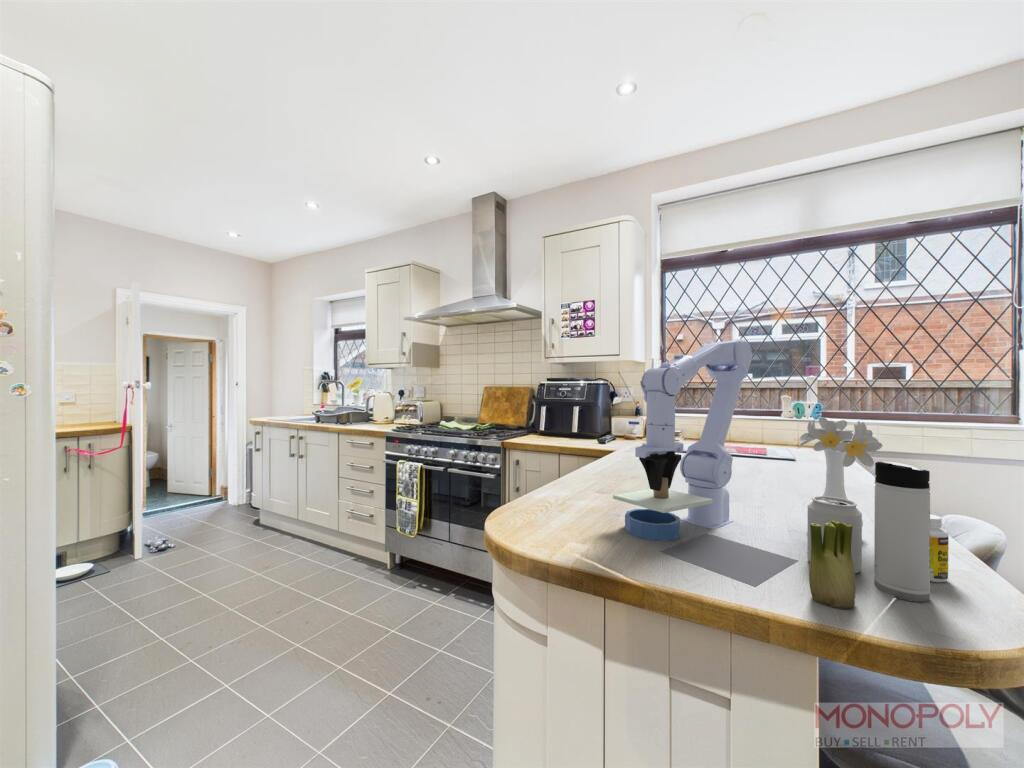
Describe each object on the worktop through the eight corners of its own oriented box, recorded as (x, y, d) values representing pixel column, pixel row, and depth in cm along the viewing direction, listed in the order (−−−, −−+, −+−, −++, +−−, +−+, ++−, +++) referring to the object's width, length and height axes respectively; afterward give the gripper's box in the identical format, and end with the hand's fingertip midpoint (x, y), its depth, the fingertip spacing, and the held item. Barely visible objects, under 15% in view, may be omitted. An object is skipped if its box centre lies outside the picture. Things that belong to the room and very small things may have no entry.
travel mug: (861, 583, 67) (862, 459, 67) (899, 582, 67) (899, 459, 68) (901, 603, 61) (901, 466, 61) (942, 602, 61) (942, 466, 61)
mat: (706, 535, 88) (706, 533, 88) (798, 562, 75) (798, 560, 75) (659, 553, 78) (659, 551, 78) (755, 589, 64) (755, 586, 64)
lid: (659, 491, 97) (658, 470, 97) (712, 503, 85) (711, 479, 85) (613, 498, 90) (612, 476, 91) (663, 513, 78) (662, 487, 78)
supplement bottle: (943, 587, 66) (943, 522, 66) (897, 573, 71) (897, 513, 71) (952, 578, 69) (952, 516, 69) (907, 566, 74) (907, 508, 74)
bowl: (645, 522, 97) (646, 506, 97) (690, 536, 88) (690, 518, 88) (615, 531, 90) (615, 514, 90) (659, 547, 82) (659, 528, 82)
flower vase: (837, 551, 80) (838, 421, 80) (782, 520, 99) (782, 415, 99) (909, 553, 79) (909, 422, 79) (840, 522, 98) (840, 416, 98)
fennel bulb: (810, 607, 60) (810, 523, 60) (804, 592, 64) (805, 514, 64) (861, 617, 57) (862, 529, 57) (852, 601, 61) (852, 520, 61)
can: (870, 581, 68) (870, 507, 68) (815, 573, 70) (815, 502, 70) (850, 563, 75) (851, 496, 75) (801, 557, 77) (802, 492, 77)
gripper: (663, 421, 96) (663, 480, 95) (623, 424, 87) (622, 489, 87) (692, 424, 90) (692, 486, 90) (652, 427, 81) (652, 496, 81)
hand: (660, 488), depth 88 cm, fingers closed on lid, 3 cm apart
